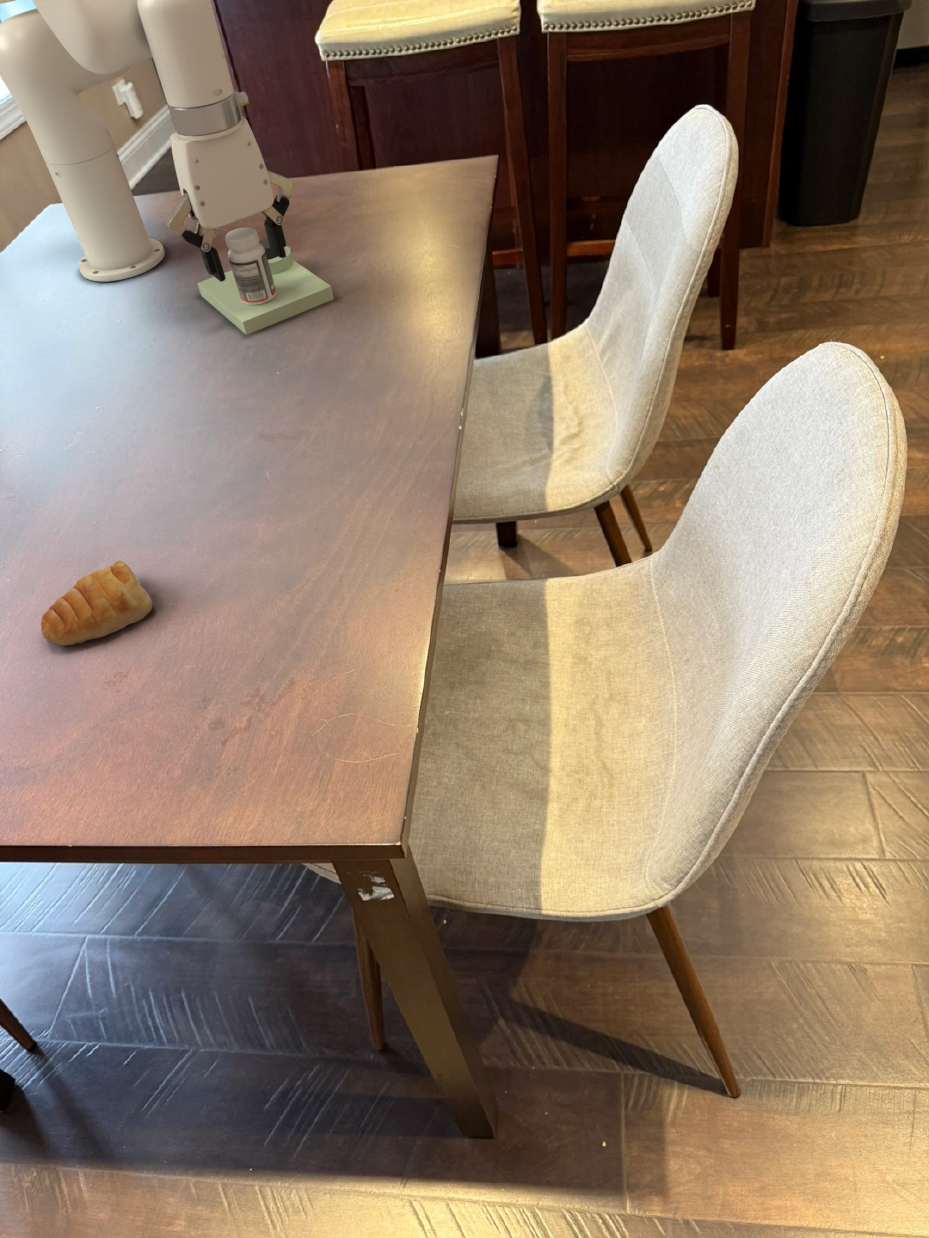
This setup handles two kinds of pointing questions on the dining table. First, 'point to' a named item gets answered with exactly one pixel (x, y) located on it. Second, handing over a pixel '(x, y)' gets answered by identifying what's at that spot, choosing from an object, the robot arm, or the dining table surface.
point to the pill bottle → (250, 266)
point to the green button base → (292, 298)
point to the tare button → (267, 249)
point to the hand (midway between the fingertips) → (249, 265)
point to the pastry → (97, 606)
